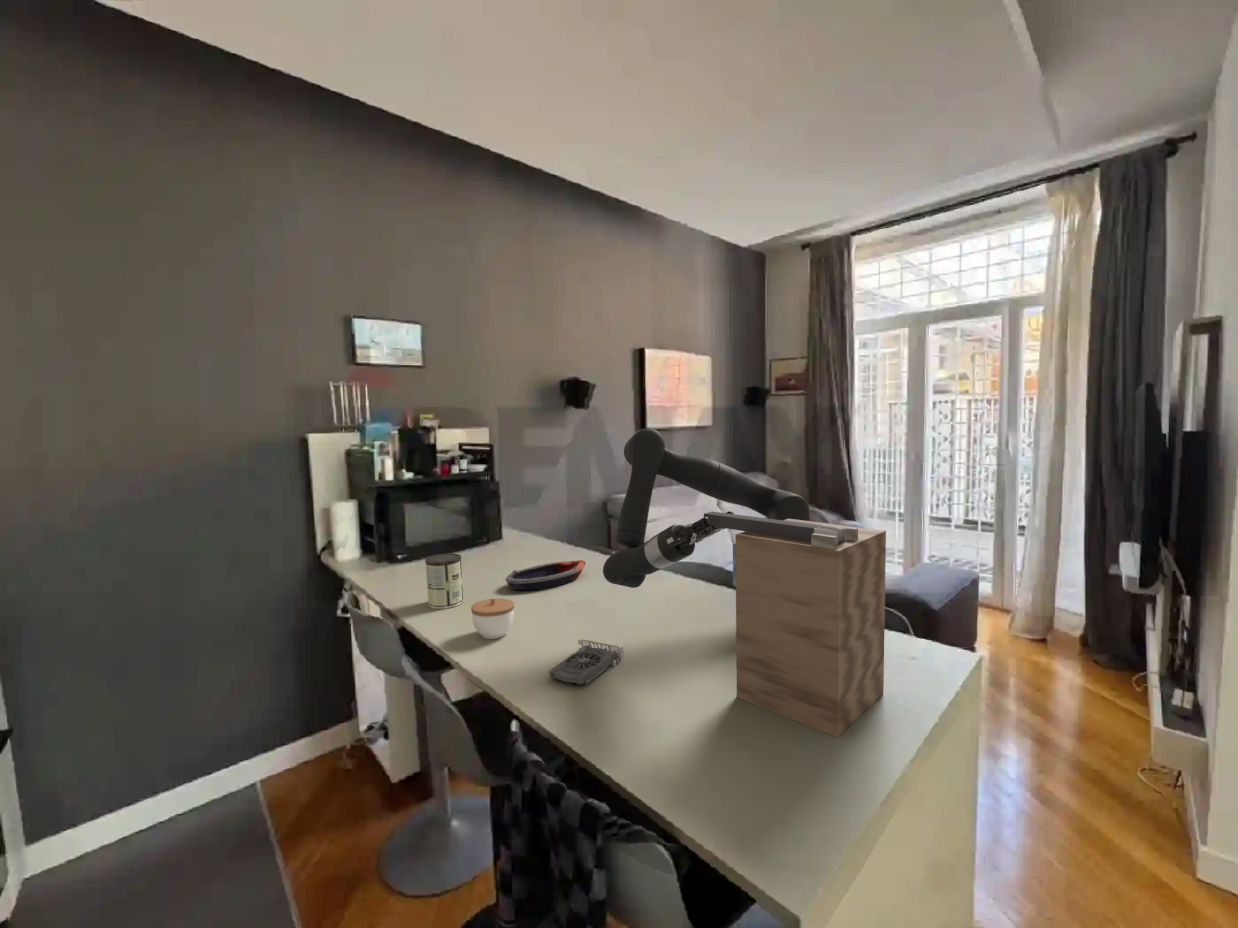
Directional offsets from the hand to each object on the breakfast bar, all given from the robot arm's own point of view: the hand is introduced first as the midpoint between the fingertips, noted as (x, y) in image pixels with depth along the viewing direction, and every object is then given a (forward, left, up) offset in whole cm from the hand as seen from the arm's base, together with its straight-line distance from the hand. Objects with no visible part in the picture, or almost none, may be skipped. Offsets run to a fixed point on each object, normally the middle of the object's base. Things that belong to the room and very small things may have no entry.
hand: (721, 518), depth 113 cm
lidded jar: (+20, -56, -34) cm, 69 cm away
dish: (-17, -82, -34) cm, 91 cm away
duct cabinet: (-5, +17, -34) cm, 38 cm away
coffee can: (+17, -88, -34) cm, 96 cm away
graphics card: (+17, -25, -34) cm, 46 cm away
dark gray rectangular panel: (0, +11, -2) cm, 11 cm away
